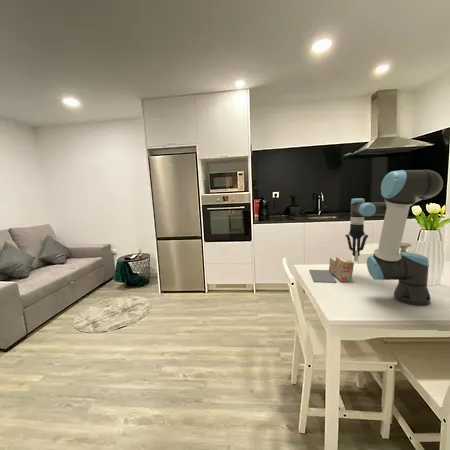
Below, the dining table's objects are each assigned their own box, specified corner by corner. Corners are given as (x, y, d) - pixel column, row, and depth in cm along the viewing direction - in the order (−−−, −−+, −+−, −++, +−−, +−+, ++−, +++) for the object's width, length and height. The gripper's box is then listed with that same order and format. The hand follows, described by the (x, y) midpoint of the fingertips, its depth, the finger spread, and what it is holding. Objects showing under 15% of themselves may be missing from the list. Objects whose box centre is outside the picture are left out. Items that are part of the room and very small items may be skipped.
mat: (336, 282, 162) (336, 282, 162) (313, 282, 164) (313, 281, 164) (329, 271, 185) (329, 270, 185) (309, 270, 187) (309, 269, 187)
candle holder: (412, 277, 167) (415, 245, 164) (397, 277, 169) (398, 245, 166) (406, 273, 175) (408, 242, 173) (391, 272, 177) (393, 242, 175)
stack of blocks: (328, 270, 183) (330, 253, 182) (337, 271, 183) (340, 253, 181) (341, 281, 162) (343, 261, 160) (351, 282, 162) (354, 262, 160)
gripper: (366, 222, 169) (365, 259, 172) (344, 222, 171) (343, 259, 174) (370, 224, 162) (368, 262, 165) (347, 224, 164) (346, 262, 167)
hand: (355, 261), depth 170 cm, fingers closed
